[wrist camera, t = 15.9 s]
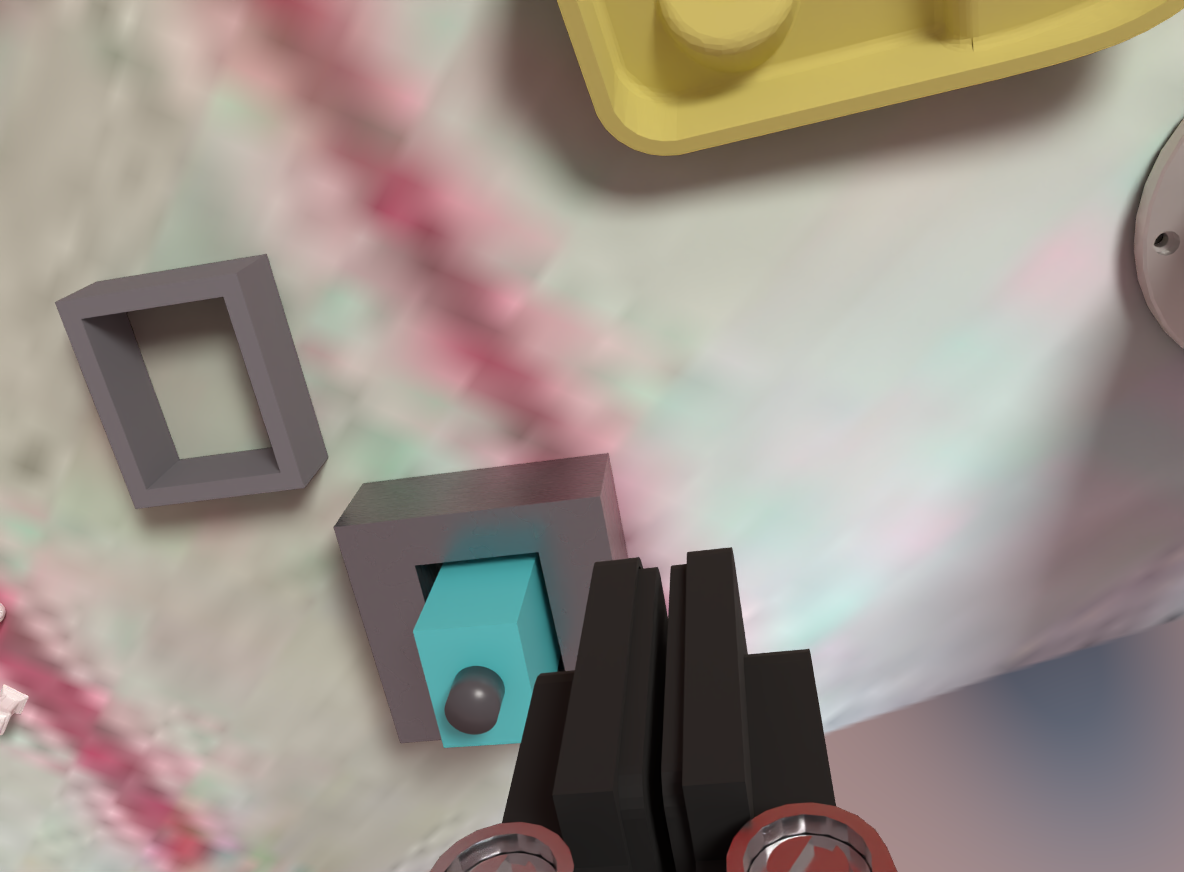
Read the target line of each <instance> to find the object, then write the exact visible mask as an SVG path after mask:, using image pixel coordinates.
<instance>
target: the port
mask: <svg viewBox="0 0 1184 872" xmlns="http://www.w3.org/2000/svg"><path fill="white" fill-rule="evenodd" d="M334 530H335V533H336V537H337V540H338V543H339V546H340V550H341V553H342V556H343V559H344V563H345V566H346V569H347V572H348V575H349V579H350V582H351V585H352V588H353V592H354V595H355V598H356V601H357V604H358V608H359V611H360V614H361V617H362V621H363V624H364V627H365V630H366V633H367V637H368V640H369V643H370V646H371V650H372V653H373V656H374V659H375V662H376V666H377V669H378V672H379V675H380V679H381V682H382V685H383V688H384V692H385V695H386V698H387V701H388V704H389V708H390V711H391V714H392V717H393V721H394V724H395V727H396V730H397V733H398V737H399V740H400V743H408V742H420V741H432V740H442V739H441V735H440V731H439V728H438V724H437V720H436V716H435V713H434V709H433V705H432V701H431V697H430V694H429V690H428V686H427V682H426V679H425V675H424V671H423V667H422V664H421V660H420V656H419V652H418V648H417V645H416V641H415V637H414V633H413V630H414V628H415V625H416V623H417V621H418V619H419V616H420V614H421V612H422V610H423V607H424V605H425V603H426V601H427V598H428V596H429V594H430V591H431V589H432V587H433V585H434V582H435V580H436V578H437V576H438V573H439V571H440V569H441V567H442V564H443V562H452V561H461V560H470V559H479V558H488V557H497V556H507V555H516V554H525V553H534V552H538V553H539V557H540V561H541V566H542V570H543V575H544V579H545V584H546V588H547V592H548V597H549V601H550V606H551V610H552V615H553V619H554V623H555V628H556V632H557V637H558V641H559V646H560V650H561V656H560V661H559V665H558V670H557V672H560V671H571V670H575V666H576V661H577V655H578V649H579V644H580V638H581V633H582V627H583V622H584V616H585V611H586V605H587V599H588V594H589V588H590V583H591V577H592V572H593V566H594V563H595V562H600V561H609V560H618V559H628V555H627V550H626V544H625V539H624V534H623V528H622V523H621V518H620V513H619V507H618V502H617V497H616V491H615V486H614V481H613V475H612V470H611V465H610V459H609V454H608V453H607V454H599V455H591V456H583V457H575V458H566V459H558V460H550V461H542V462H534V463H526V464H518V465H510V466H502V467H494V468H485V469H477V470H469V471H461V472H453V473H445V474H437V475H429V476H421V477H413V478H404V479H396V480H388V481H380V482H372V483H364V484H362V486H361V487H360V489H359V490H358V492H357V493H356V495H355V496H354V498H353V499H352V501H351V502H350V504H349V505H348V507H347V508H346V510H345V511H344V513H343V514H342V516H341V517H340V519H339V520H338V522H337V523H336V525H335V526H334Z"/></svg>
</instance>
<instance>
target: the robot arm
mask: <svg viewBox="0 0 1184 872" xmlns="http://www.w3.org/2000/svg"><path fill="white" fill-rule="evenodd" d="M1161 233H1163V235H1164V237H1163V240H1162V241H1161V242H1160V243H1158V244H1156V245H1155V244H1154V243H1155V239H1156V238H1157V237H1158V236H1159V235H1160V234H1161ZM1134 256H1135V263H1136V271H1137V278H1138V282H1139V284H1140V287H1141V290H1142V293H1143V295H1144V298H1145V301H1146V303H1147V306H1148V308H1149V309H1150V311H1151V312H1152V314H1153V315H1154V317H1155V318H1156V320H1157V321H1158V323H1159V324H1160V326H1161V327H1162V329H1163V330H1164V331H1165V332H1166V333H1167V334H1168V335H1169V336H1170V337H1171V338H1172V339H1173V340H1174V341H1175V342H1176V343H1177V344H1178V345H1180V346H1181V347H1182V348H1183V349H1184V119H1183V120H1182V121H1181V123H1180V124H1179V126H1178V127H1177V129H1176V130H1175V131H1174V133H1173V134H1172V136H1171V137H1170V139H1169V140H1168V141H1167V143H1166V144H1165V146H1164V147H1163V149H1162V150H1161V152H1160V154H1159V156H1158V158H1157V160H1156V162H1155V164H1154V166H1153V169H1152V171H1151V173H1150V175H1149V177H1148V179H1147V181H1146V183H1145V186H1144V190H1143V194H1142V197H1141V201H1140V205H1139V208H1138V212H1137V215H1136V225H1135V238H1134ZM430 872H897V870H896V867H895V865H894V863H893V860H892V858H891V855H890V853H889V851H888V848H887V847H886V845H885V843H884V842H883V840H882V839H881V837H880V836H879V834H878V833H877V832H876V830H875V829H874V828H873V827H872V826H870V825H869V824H867V823H866V822H865V821H864V820H863V819H861V818H860V817H859V816H858V815H855V814H853V813H850V812H848V811H846V810H843V809H841V808H839V807H836V803H835V797H834V791H833V785H832V780H831V774H830V768H829V762H828V756H827V750H826V744H825V738H824V732H823V726H822V720H821V714H820V708H819V702H818V696H817V690H816V684H815V678H814V672H813V666H812V660H811V654H810V650H809V649H804V650H793V651H782V652H770V653H759V654H748V653H747V646H746V639H745V632H744V625H743V618H742V611H741V604H740V597H739V590H738V582H737V575H736V568H735V562H734V555H733V550H732V547H731V548H721V549H712V550H703V551H693V552H687V564H683V565H673V566H671V573H670V594H669V615H668V616H667V611H666V605H665V599H664V594H663V588H662V582H661V577H660V572H659V569H658V567H654V568H645V569H643V566H642V562H641V560H640V558H639V557H637V558H628V559H618V560H609V561H600V562H595V563H594V566H593V572H592V577H591V583H590V588H589V594H588V599H587V605H586V611H585V616H584V622H583V627H582V633H581V638H580V644H579V649H578V655H577V661H576V666H575V670H571V671H560V672H549V673H541V674H539V675H538V676H537V679H536V681H535V684H534V688H533V693H532V697H531V701H530V706H529V710H528V714H527V718H526V723H525V727H524V731H523V735H522V740H521V744H520V748H519V752H518V757H517V761H516V765H515V770H514V774H513V778H512V782H511V787H510V791H509V795H508V799H507V804H506V808H505V812H504V817H503V821H502V823H500V824H496V825H493V826H490V827H486V828H483V829H480V830H477V831H475V832H473V833H471V834H470V835H468V836H466V837H464V838H462V839H461V840H459V841H457V842H456V843H455V844H454V845H452V846H451V847H450V848H449V849H448V850H447V851H446V852H445V853H444V854H442V855H441V856H440V857H439V859H438V860H437V862H436V863H435V865H434V866H433V868H432V869H431V871H430Z"/></svg>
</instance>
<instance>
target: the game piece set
mask: <svg viewBox="0 0 1184 872" xmlns="http://www.w3.org/2000/svg"><path fill="white" fill-rule="evenodd" d="M5 614H6V610H5V607H4V606H3V605H2V604H1V603H0V622H1V621H2V620H3V619H4V616H5ZM27 700H28V696H27V695H25V694H23V693H21V692H19V691H17V690H15V689H13V688H11V687H9V686H7V685H5V684H4V685H3V687H2V689H1V691H0V735H3V734H4V731H5V729H6V727H7V724H8V722H9V720H10V717H11V716H12V715H13V714H14V713H16V714H22V711H23V709H24V707H25V704H26V702H27Z"/></svg>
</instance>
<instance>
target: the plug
mask: <svg viewBox="0 0 1184 872" xmlns="http://www.w3.org/2000/svg"><path fill="white" fill-rule="evenodd" d="M413 633H414V637H415V641H416V645H417V648H418V652H419V656H420V660H421V664H422V667H423V671H424V675H425V679H426V682H427V686H428V690H429V694H430V697H431V701H432V705H433V709H434V713H435V716H436V720H437V724H438V728H439V731H440V735H441V739H442V743H443V746H444V748H449V747H465V746H481V745H497V744H513V743H521V740H522V735H523V731H524V727H525V723H526V718H527V714H528V710H529V706H530V701H531V697H532V693H533V688H534V684H535V681H536V679H537V676H538V675H539V674H541V673H549V672H557V670H558V665H559V661H560V656H561V650H560V646H559V641H558V637H557V632H556V628H555V623H554V619H553V615H552V610H551V606H550V601H549V597H548V592H547V588H546V584H545V579H544V575H543V570H542V566H541V561H540V557H539V553H538V552H534V553H525V554H516V555H507V556H497V557H488V558H479V559H470V560H461V561H452V562H443V564H442V567H441V569H440V571H439V573H438V576H437V578H436V580H435V582H434V585H433V587H432V589H431V591H430V594H429V596H428V598H427V601H426V603H425V605H424V607H423V610H422V612H421V614H420V616H419V619H418V621H417V623H416V625H415V628H414V630H413Z"/></svg>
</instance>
